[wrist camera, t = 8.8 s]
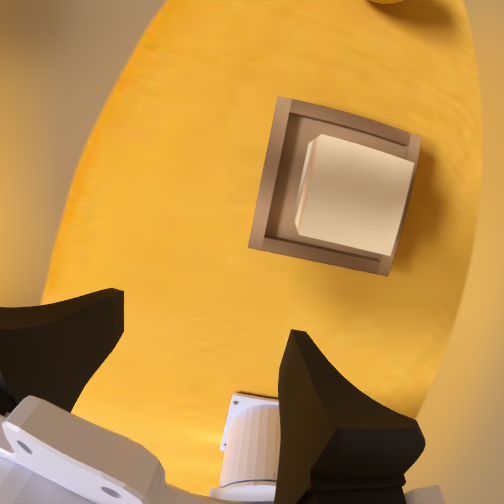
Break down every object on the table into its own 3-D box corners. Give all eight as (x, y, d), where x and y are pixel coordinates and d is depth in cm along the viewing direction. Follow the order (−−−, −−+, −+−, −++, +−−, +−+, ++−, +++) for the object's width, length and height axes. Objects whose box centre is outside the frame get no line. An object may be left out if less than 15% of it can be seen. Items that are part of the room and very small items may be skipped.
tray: (373, 261, 21) (388, 276, 18) (251, 235, 21) (247, 247, 18) (401, 140, 18) (421, 137, 15) (277, 107, 18) (277, 96, 15)
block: (362, 233, 18) (390, 256, 13) (292, 216, 18) (298, 234, 13) (379, 162, 17) (414, 163, 12) (308, 143, 17) (321, 134, 12)
